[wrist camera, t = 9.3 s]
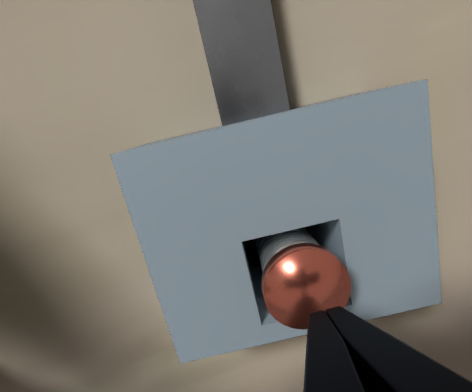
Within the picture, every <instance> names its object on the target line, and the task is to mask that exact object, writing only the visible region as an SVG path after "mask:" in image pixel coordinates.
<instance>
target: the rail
mask: <svg viewBox="0 0 472 392" xmlns="http://www.w3.org/2000/svg"><path fill="white" fill-rule="evenodd" d="M193 3H194V7H195V11H196V16H197V20H198V24H199V28H200V33H201V37H202V41H203V45H204V49H205V54H206V58H207V62H208V66H209V71H210V75H211V79H212V83H213V88H214V92H215V96H216V100H217V105H218V109H219V113H220V117H221V121H222V126H226V125H230V124H234V123H239V122H243V121H247V120H251V119H255V118H260V117H264V116H268V115H272V114H276V113H281V112H285V111H289V110H290V107H289V101H288V95H287V90H286V84H285V78H284V73H283V67H282V62H281V56H280V50H279V45H278V39H277V34H276V28H275V22H274V17H273V11H272V5H271V0H193Z"/></svg>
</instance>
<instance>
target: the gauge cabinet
mask: <svg viewBox="0 0 472 392" xmlns="http://www.w3.org/2000/svg"><path fill="white" fill-rule="evenodd" d="M110 156H111V159H112V162H113V165H114V168H115V171H116V174H117V177H118V180H119V183H120V186H121V189H122V192H123V195H124V198H125V201H126V204H127V207H128V210H129V213H130V216H131V219H132V222H133V225H134V228H135V231H136V234H137V237H138V240H139V243H140V246H141V249H142V252H143V254H144V257H145V260H146V263H147V266H148V269H149V272H150V275H151V278H152V281H153V284H154V287H155V290H156V293H157V296H158V299H159V302H160V305H161V308H162V311H163V314H164V317H165V320H166V323H167V326H168V329H169V332H170V335H171V338H172V341H173V344H174V347H175V350H176V352H177V355H178V358H179V361H180V364H181V363H185V362H190V361H194V360H198V359H203V358H207V357H211V356H215V355H220V354H224V353H228V352H233V351H237V350H241V349H246V348H250V347H254V346H259V345H263V344H267V343H271V342H276V341H280V340H284V339H289V338H293V337H297V336H302V335H306V334H307V330H308V329H294V328H290V327H287V326H285V325H283V324H281V323H280V322H278V321H277V320H276V319H274V317H273V316H272V315H271V314H270V313H269V311H268V309H267V307H266V304H265V301H264V297H263V293H262V288H261V279H262V274H263V271H262V267H261V265H259V266H255V267H251V268H250V265H249V261H248V257H247V252H246V248H245V244H244V241H247V240H251V239H256V238H260V237H264V236H268V235H273V234H277V233H281V232H285V231H290V230H294V229H298V228H303V227H307V226H310V228H311V234H312V237H313V238H314V239H315V240H316V242H317V243H318V244H319V245H321V246H323V247H325V248H327V249H328V250H330V251H331V252H332V253H333V254H334V255H335V256H336V257H337V258H338V259H339V260H340V262H341V263H342V264H343V265H344V266H345V268H346V270H347V271H348V274H349V276H350V281H351V292H350V297H349V300H348V302H347V304H346V306H345V309H346V310H348V311H350V312H352V313H353V314H355V315H357V316H358V317H360V318H362V319H364V320H365V321H366V320H371V319H375V318H379V317H384V316H388V315H392V314H396V313H401V312H405V311H409V310H414V309H418V308H422V307H427V306H431V305H435V304H440V303H442V297H441V281H440V266H439V250H438V235H437V220H436V204H435V189H434V173H433V158H432V142H431V127H430V112H429V96H428V81H427V79H425V80H421V81H416V82H411V83H406V84H401V85H396V86H391V87H387V88H382V89H377V90H372V91H367V92H362V93H358V94H354V95H350V96H345V97H341V98H337V99H333V100H329V101H324V102H320V103H316V104H312V105H308V106H303V107H299V108H295V109H291V110H289V111H285V112H281V113H276V114H272V115H268V116H264V117H260V118H255V119H251V120H247V121H243V122H239V123H234V124H230V125H226V126H220V127H215V128H211V129H207V130H203V131H199V132H194V133H190V134H186V135H182V136H178V137H174V138H169V139H165V140H161V141H157V142H153V143H148V144H144V145H141V146H138V147H134V148H131V149H128V150H124V151H121V152H118V153H114V154H111V155H110Z"/></svg>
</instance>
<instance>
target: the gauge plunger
mask: <svg viewBox="0 0 472 392" xmlns="http://www.w3.org/2000/svg"><path fill="white" fill-rule="evenodd" d="M254 242H255V245H256V249H257V253H258V256H259V260H260V263H261V267H262V271H263V274H262V279H261V288H262V293H263V297H264V301H265V304H266V307H267V309H268V311H269V313H270V314H271V315H272V316H273V317H274V319H276V320H277V321H278V322H280V323H281V324H283V325H285V326H287V327H290V328H294V329H308V315H309V313H311V312H315V311H319V310H323V311H325V310H326V309H328V308H332V307H337V306H341V307H343V308H345V306H346V304H347V302H348V300H349V297H350V292H351V281H350V276H349V274H348V271H347V270H346V268H345V266H344V265H343V264H342V263H341V262H340V260H339V259H338V258H337V257H336V256H335V255H334V254H333V253H332V252H331V251H330V250H328V249H327V248H325V247H323V246H321V245H319V244H318V243H317V242H316V240H315V239H314V238H313V237H312V235H311V234H310V233H309V232H308V230H307V229H306V228H305V227H303V228H298V229H294V230H290V231H285V232H281V233H277V234H273V235H268V236H264V237H260V238H256V239H254Z"/></svg>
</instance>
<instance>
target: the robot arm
mask: <svg viewBox="0 0 472 392" xmlns="http://www.w3.org/2000/svg"><path fill="white" fill-rule="evenodd" d="M303 392H472V382H471V381H469V380H467V379H466V378H464V377H462V376H460V375H459V374H457V373H455V372H454V371H452V370H450V369H448V368H447V367H445V366H443V365H441V364H440V363H438V362H436V361H435V360H433V359H431V358H429V357H428V356H426V355H424V354H422V353H421V352H419V351H417V350H416V349H414V348H412V347H410V346H409V345H407V344H405V343H403V342H402V341H400V340H398V339H397V338H395V337H393V336H391V335H390V334H388V333H386V332H384V331H383V330H381V329H379V328H378V327H376V326H374V325H372V324H371V323H369V322H367V321H365V320H364V319H362V318H360V317H358V316H357V315H355V314H353V313H352V312H350V311H348V310H346V309H345V308H343V307H341V306H337V307H332V308H328V309H326V310H325V311H323V310H319V311H315V312H311V313H309V315H308V330H307V345H306V360H305V376H304V391H303Z"/></svg>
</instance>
